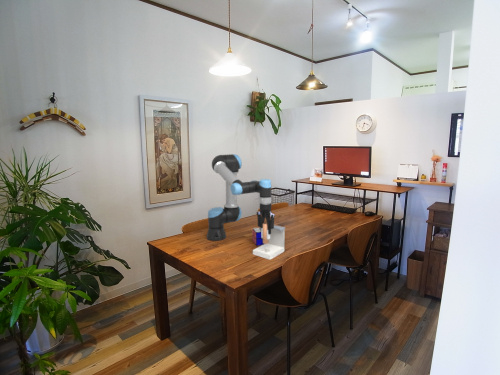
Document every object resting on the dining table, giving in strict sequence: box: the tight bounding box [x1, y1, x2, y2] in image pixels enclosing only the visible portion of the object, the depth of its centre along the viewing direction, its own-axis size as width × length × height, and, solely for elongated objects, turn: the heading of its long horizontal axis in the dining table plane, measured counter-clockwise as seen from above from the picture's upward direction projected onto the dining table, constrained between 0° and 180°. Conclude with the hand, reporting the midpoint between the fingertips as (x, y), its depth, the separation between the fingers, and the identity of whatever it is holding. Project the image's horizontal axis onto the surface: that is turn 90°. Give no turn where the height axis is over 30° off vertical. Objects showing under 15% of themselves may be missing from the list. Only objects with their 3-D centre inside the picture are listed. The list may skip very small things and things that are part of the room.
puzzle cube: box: [252, 227, 264, 246], centre depth 203 cm, size 10×10×10 cm
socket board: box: [252, 224, 286, 261], centre depth 183 cm, size 15×17×17 cm
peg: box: [263, 222, 269, 244], centre depth 179 cm, size 4×4×13 cm
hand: (265, 238), depth 179 cm, fingers closed on peg, 4 cm apart
